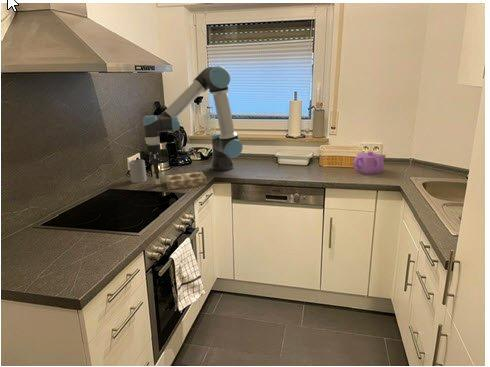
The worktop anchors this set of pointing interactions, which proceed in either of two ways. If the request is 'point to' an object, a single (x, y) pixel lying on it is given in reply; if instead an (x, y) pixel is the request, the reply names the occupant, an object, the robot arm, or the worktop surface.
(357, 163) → the teakettle
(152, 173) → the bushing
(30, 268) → the worktop surface
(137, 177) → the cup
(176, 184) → the jig
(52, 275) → the worktop surface
